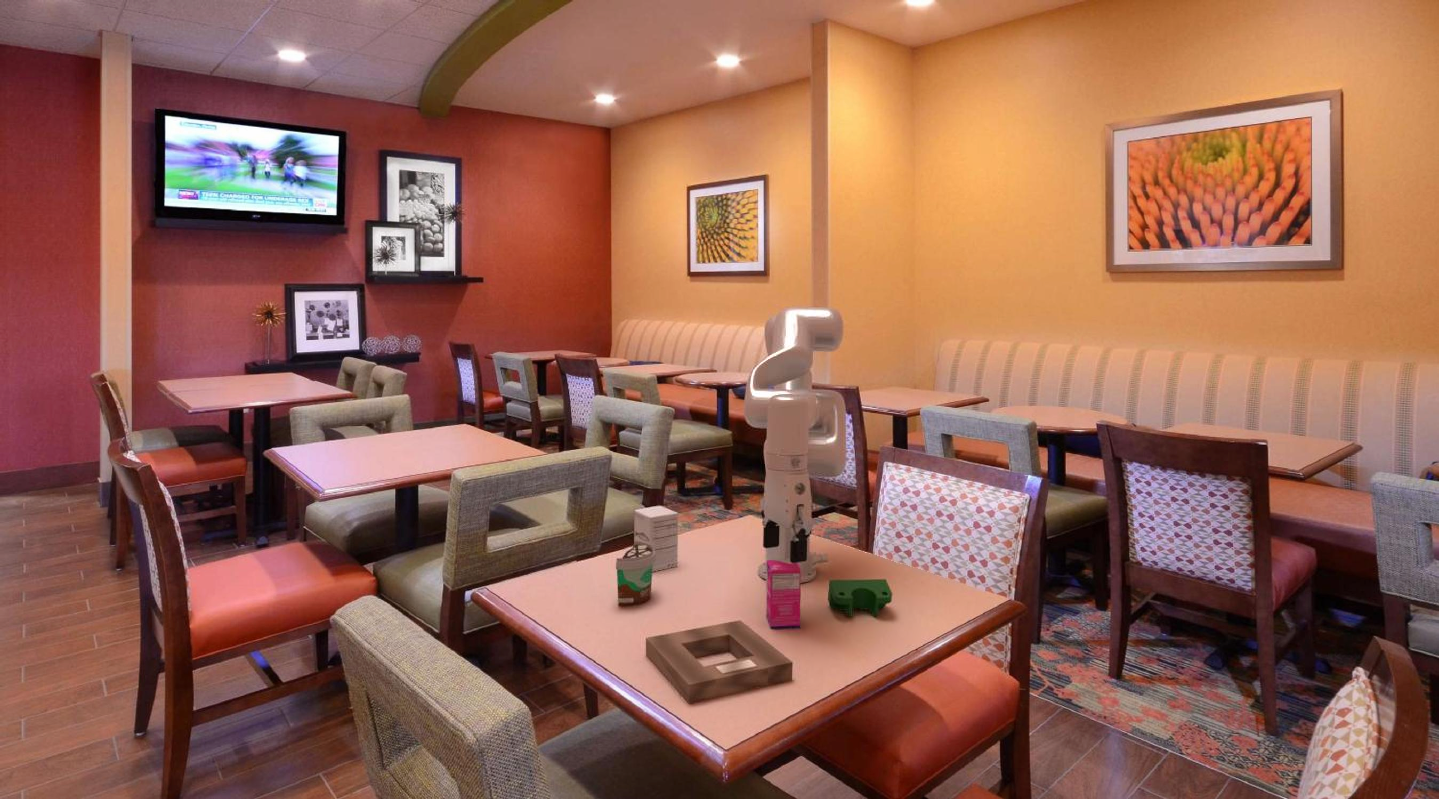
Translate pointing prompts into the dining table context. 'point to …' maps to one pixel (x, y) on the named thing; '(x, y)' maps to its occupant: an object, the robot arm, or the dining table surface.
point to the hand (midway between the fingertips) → (784, 554)
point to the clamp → (859, 595)
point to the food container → (635, 574)
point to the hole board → (706, 682)
